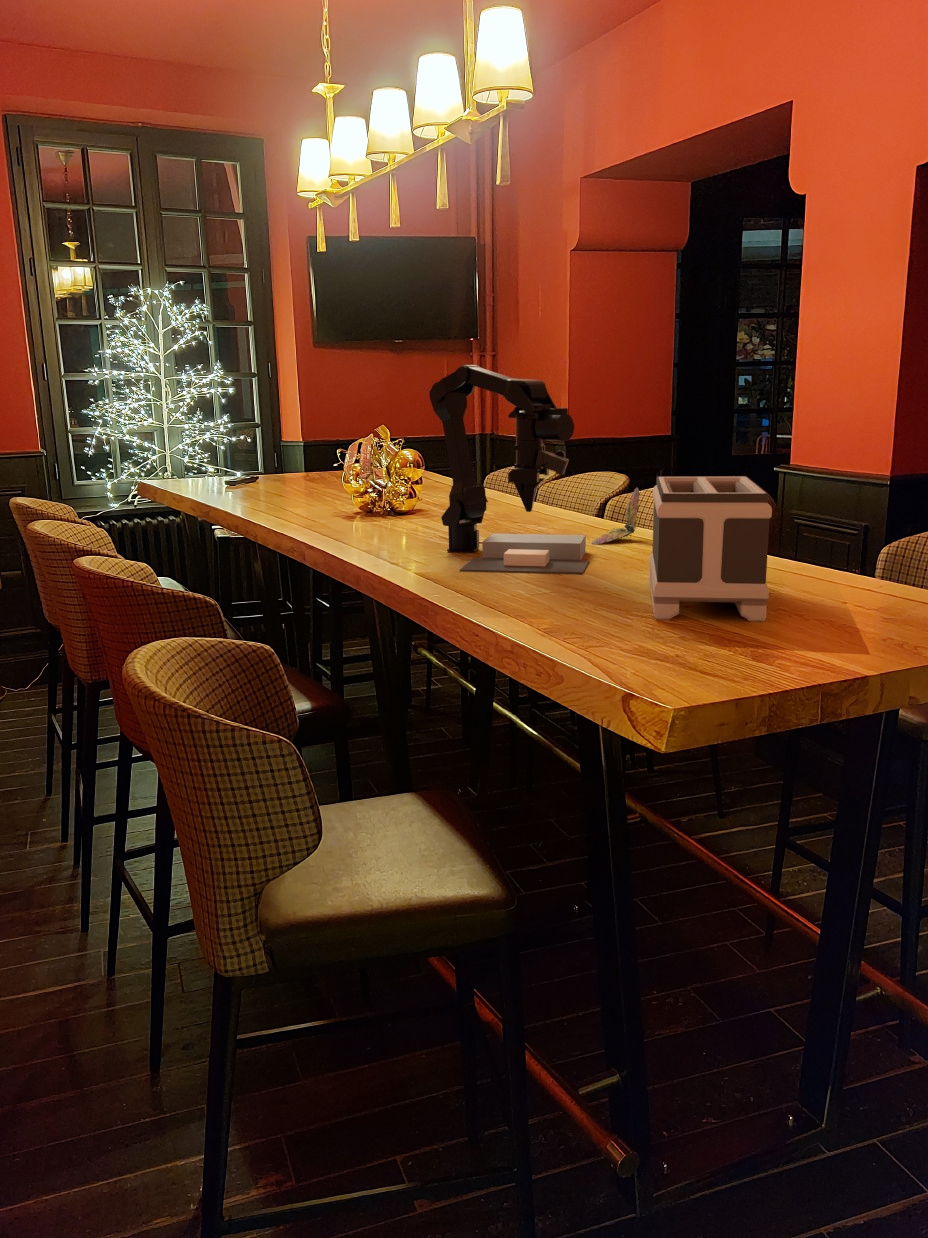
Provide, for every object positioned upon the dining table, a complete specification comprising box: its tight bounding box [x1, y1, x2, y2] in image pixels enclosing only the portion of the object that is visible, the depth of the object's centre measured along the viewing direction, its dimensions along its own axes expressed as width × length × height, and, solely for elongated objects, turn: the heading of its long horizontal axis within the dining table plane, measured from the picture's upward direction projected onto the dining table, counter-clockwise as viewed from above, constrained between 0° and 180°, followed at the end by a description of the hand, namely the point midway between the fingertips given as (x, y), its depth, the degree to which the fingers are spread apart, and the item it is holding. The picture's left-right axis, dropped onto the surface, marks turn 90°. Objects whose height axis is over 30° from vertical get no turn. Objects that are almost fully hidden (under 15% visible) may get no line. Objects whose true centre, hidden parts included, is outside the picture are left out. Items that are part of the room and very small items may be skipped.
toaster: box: [648, 475, 773, 623], centre depth 171 cm, size 18×34×21 cm, turn 171°
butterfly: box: [591, 486, 644, 546], centre depth 236 cm, size 17×10×10 cm
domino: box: [504, 549, 549, 566], centre depth 207 cm, size 9×6×3 cm, turn 77°
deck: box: [481, 533, 587, 560], centre depth 219 cm, size 22×12×4 cm, turn 77°
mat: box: [459, 557, 590, 575], centre depth 206 cm, size 26×14×1 cm, turn 77°
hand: (529, 511), depth 210 cm, fingers closed
